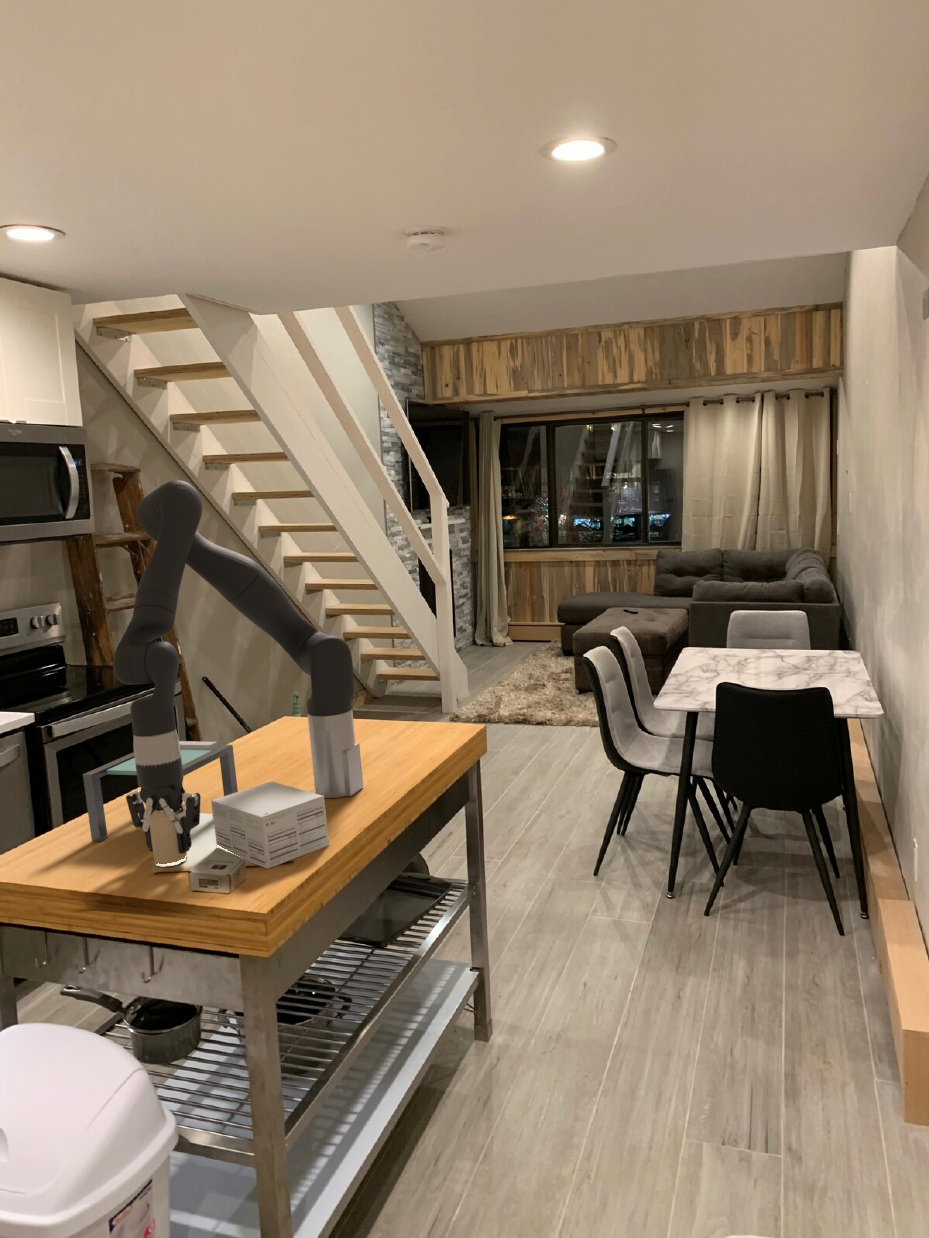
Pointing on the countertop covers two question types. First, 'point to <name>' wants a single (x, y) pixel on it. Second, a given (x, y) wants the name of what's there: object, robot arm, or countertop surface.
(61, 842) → the countertop surface
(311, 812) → the supplement box
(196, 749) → the trapdoor
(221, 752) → the frame
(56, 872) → the countertop surface
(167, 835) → the candle
